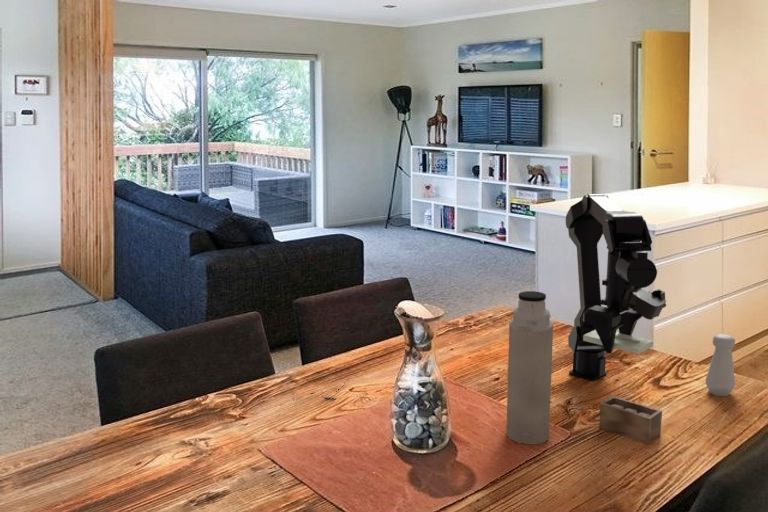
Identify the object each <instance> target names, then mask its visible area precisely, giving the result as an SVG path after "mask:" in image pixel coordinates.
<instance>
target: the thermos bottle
mask: <svg viewBox="0 0 768 512" xmlns="http://www.w3.org/2000/svg"><path fill="white" fill-rule="evenodd" d="M546 296H547V294H546V293H544V292H542V291H540V292H539V291H536V290H535V291H532V290H531V291H529V290H528V291H521V292H519V293H518V299H519V300H518V306H517V307H516V308H514V309H513V314H512V319H510V320H509V324H508V325H509V327H508V355H507V356H508V358H507V362H508V363H507V394H506V395H507V397H506V398H507V399H506V400H507V401H506V436H507V437H508V438H509V439H510V438H511V439H512V441H513V440H514V441H513V442H515V441H517V442H516V443H518V442H519V443H518V444H522V443H524V444H523V445H539V444H542V443H543V444H544V443H545V442H547V441H548V439H549V438H550V417H551V416H550V415H551V388H552V366H553V365H552V364H553V345H554V343H553V339H554V323H553V322H552V321H551V320H550V318H551V312H550V310H548V309H547V308H546V301H545V300H546V299H547V297H546ZM511 439H510V440H511ZM546 440H547V441H546Z"/></svg>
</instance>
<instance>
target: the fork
mask: <svg viewBox="0 0 768 512" xmlns="http://www.w3.org/2000/svg"><path fill="white" fill-rule="evenodd" d="M321 397H322V398H323V399H325V398H327V399H328V400H336V399H335V398H336V397H333V396H323V395H321ZM329 398H330V399H329ZM332 398H333V399H332Z"/></svg>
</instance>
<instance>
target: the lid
mask: <svg viewBox="0 0 768 512" xmlns="http://www.w3.org/2000/svg"><path fill="white" fill-rule="evenodd" d="M583 341H587V342H591V343H595V344H599V345H603V344H602V342H601V340H600V338H599V336H598V333H597V332H596V330H594V331H591V332H589V333H587V334H585V335H583ZM653 346H654V340H651V339H647V338H641V337H638V336H634V335H632V336H630V335H626V334H622V333H619V332H617V331H616V335H615V341H614V346H613V349H616V350H620V351H622V352H627V353H631V354H636V355H639V354H642V353H643V352H645V351H647V350H649V349H650V348H653Z"/></svg>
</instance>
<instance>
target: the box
mask: <svg viewBox="0 0 768 512" xmlns="http://www.w3.org/2000/svg"><path fill="white" fill-rule="evenodd" d="M662 418H663V410H661V409H657V408H655V407H652V406H651V407H650V406H648V405H644V404H641V403H639V402H638V403H637V402H635V401H631V400H627V399H625V398H622V397H619V396H615V395H612V396H611V397H609V398H607V399H605V400H603V401H602V402H600V403H599V420H598V428H601V429H603V430H605V431H609V432H612V433H615V434H618V435H621V436H624V437H626V438H630V439H633V440H635V441H638V442H640V443H643V444H646V445H650V444H651V443H652V442H653V441H655V440H656V439H657V438H659V437H660V436H661V432H662Z"/></svg>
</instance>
